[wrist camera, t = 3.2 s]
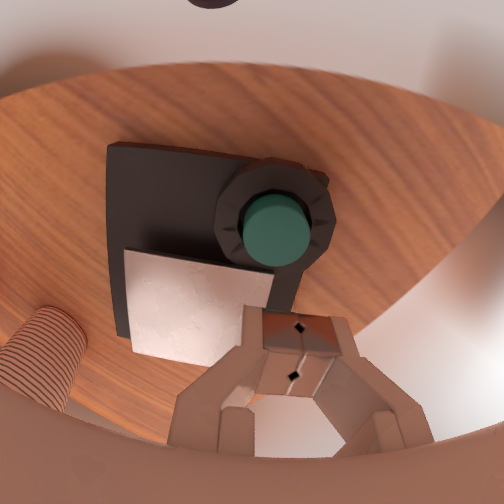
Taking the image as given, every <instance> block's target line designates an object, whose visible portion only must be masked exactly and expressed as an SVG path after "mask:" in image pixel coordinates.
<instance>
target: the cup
mask: <svg viewBox="0 0 504 504" xmlns="http://www.w3.org/2000/svg"><path fill="white" fill-rule="evenodd" d="M86 347H87V340H86V338H85V335H84V333H83V331H82V329H81V328H80V327H79V326H78V324H77V323H76V322H75V321H74V320H73V319H72V318H71V317H69V316H68V315H67V314H66V313H64V312H62V311H60V310H58V309H56V308H54V307H47V306H45V307H42V308H40V309H37V310H36V312H35V313H34V314H33V315H32V316H31V317H30V318H29V319H28V320H27V321H26V322H25V323H24V324H23V325H22V326H21V328H20V329H19V330H18V331H17V332H16V333H15V334H14V335H13V336H12V338H11V339H10V340H9V341H8V342H7V343H6V344H5V345H4V347H3V348H2V349H1V350H0V383H1V384H3V385H5V386H7V387H9V388H11V389H12V390H14V391H16V392H18V393H20V394H22V395H24V396H26V397H28V398H30V399H32V400H34V401H36V402H39V403H41V404H43V405H45V406H47V407H50V408H52V409H54V410H57V411H59V412H62V413H63V412H64V409H65V406H66V403H67V400H68V397H69V394H70V392H71V389H72V386H73V383H74V380H75V378H76V375H77V372H78V370H79V367H80V364H81V362H82V359H83V357H84V354H85V352H86Z"/></svg>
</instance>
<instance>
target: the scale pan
mask: <svg viewBox="0 0 504 504" xmlns="http://www.w3.org/2000/svg"><path fill="white" fill-rule="evenodd" d="M124 268H125V284H126V297H127V308H128V318H129V327H130V336H131V343H132V351H133V352H136V353H141V354H145V355H149V356H154V357H159V358H163V359H168V360H173V361H179V362H184V363H189V364H195V365H201V366H207V367H211V366H213V365H214V364H215V363H216V362H217V361H218V360H219V359H221V358H222V357H223V356H224V355H225V354H226V353H227V352H228V351H229V350H231V349H232V348H233V347H234V345H235V339H236V333H237V329H238V324H239V319H240V315H241V310H242V307H243V305H249V306H256V307H261V308H262V307H263V308H266V305H267V302H268V298H269V294H270V290H271V286H272V283H273V279H274V271H271V270H264V269H258V268H252V267H245V266H239V265H233V264H227V263H221V262H215V261H209V260H203V259H197V258H191V257H185V256H179V255H173V254H167V253H161V252H155V251H150V250H144V249H138V248H133V247H125V249H124Z"/></svg>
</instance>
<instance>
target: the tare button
mask: <svg viewBox="0 0 504 504" xmlns="http://www.w3.org/2000/svg"><path fill="white" fill-rule="evenodd" d="M309 241H310V228H309V225H308V222H307V220H306V217H305V215H304V212H303V210H302V208H301V207H300V205H299V204H298V203H297V202H296V201H295V200H293V199H292V198H290V197H288V196H285V195H281V194H269V195H265V196H263V197H260V198H259V199H257V200H256V201H254V202H253V203H252V204H251V205H250V207H249V208H248V210H247V212H246V214H245V218H244V228H243V242H244V246H245V248H246V250H247V252H248V253H249V254H250V255H251V257H253V258H254V259H255V260H256V261H258V262H260V263H262V264H265V265H268V266H283V265H287V264H290V263H292V262H294V261H296V260H297V259H298V258H300V257H301V256H302V255H303V253H304V252H305V251H306V249H307V247H308V245H309Z"/></svg>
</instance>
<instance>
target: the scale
mask: <svg viewBox="0 0 504 504" xmlns="http://www.w3.org/2000/svg"><path fill="white" fill-rule="evenodd" d="M328 183H329V177H328V176H327V175H326V174H325V173H324V172H320V171H315V170H311V169H307V168H305V167H304V166H303V165H302V164H300V163H296V162H292V161H287V160H282V159H277V158H272V157H271V158H266V159H263V160H262V159H256V158H250V157H245V156H239V155H232V154H226V153H220V152H213V151H206V150H198V149H190V148H182V147H174V146H165V145H155V144H144V143H132V142H115V143H113V144H110V145H108V146H107V164H106V227H107V248H108V262H109V274H110V284H111V294H112V302H113V310H114V317H115V324H116V330H117V336H120V337H124V338H129V339H131V336H130V327H129V318H128V308H127V297H126V284H125V268H124V249H125V247H133V248H138V249H144V250H150V251H155V252H161V253H167V254H173V255H179V256H185V257H191V258H197V259H203V260H209V261H215V262H221V263H227V264H233V265H239V266H245V267H252V268H258V269H264V270H271V271H274V279H273V283H272V286H271V290H270V294H269V298H268V302H267V305H266V308H269V309H275V310H281V311H288V312H290V311H291V308H292V305H293V302H294V299H295V295H296V292H297V289H298V286H299V283H300V280H301V277H302V273H303V270H306V269H307V268H308V267H309V266H310V265H311V264H313V263H314V262H315V261H316V260H317V259H318V258H319V257H320V256H321V255H322V254H323V253H324V252H325V251H326V250H327V249H328V247H329V244H330V241H331V238H332V235H333V231H334V228H335V225H336V217H335V213H334V209H333V205H332V201H331V197H330V193H329V192H328V190H327V187H328ZM269 194H281V195H285V196H288V197H290V198H292V199H293V200H295V201H296V202H297V203H298V204H299V205H300V207H301V208H302V210H303V212H304V215H305V217H306V220H307V222H308V225H309V228H310V241H309V245H308V247H307V249H306V251H305V252H304V253H303V255H302V256H301V257H300V258H298V259H297V260H296V261H294V262H292V263H290V264H287V265H283V266H268V265H265V264H262V263H260V262H258V261H256V260H255V259H254V258H253V257H251V255H250V254H249V253H248V252H247V250H246V248H245V246H244V242H243V228H244V218H245V214H246V212H247V210H248V208H249V207H250V205H251V204H252V203H253V202H254V201H256V200H257V199H259V198H260V197H263V196H265V195H269Z"/></svg>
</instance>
